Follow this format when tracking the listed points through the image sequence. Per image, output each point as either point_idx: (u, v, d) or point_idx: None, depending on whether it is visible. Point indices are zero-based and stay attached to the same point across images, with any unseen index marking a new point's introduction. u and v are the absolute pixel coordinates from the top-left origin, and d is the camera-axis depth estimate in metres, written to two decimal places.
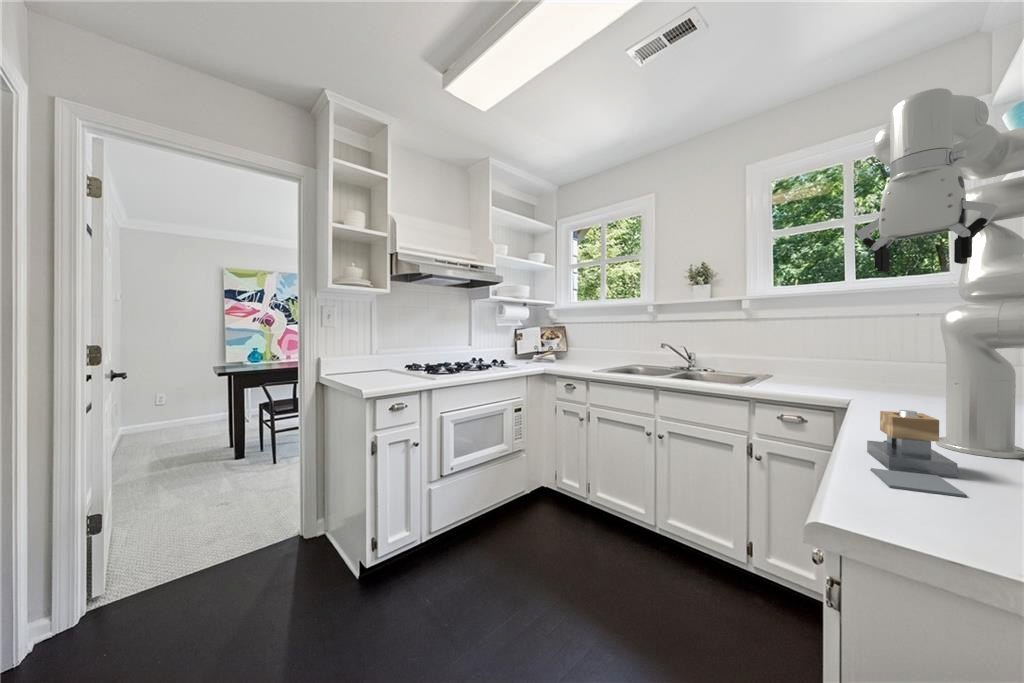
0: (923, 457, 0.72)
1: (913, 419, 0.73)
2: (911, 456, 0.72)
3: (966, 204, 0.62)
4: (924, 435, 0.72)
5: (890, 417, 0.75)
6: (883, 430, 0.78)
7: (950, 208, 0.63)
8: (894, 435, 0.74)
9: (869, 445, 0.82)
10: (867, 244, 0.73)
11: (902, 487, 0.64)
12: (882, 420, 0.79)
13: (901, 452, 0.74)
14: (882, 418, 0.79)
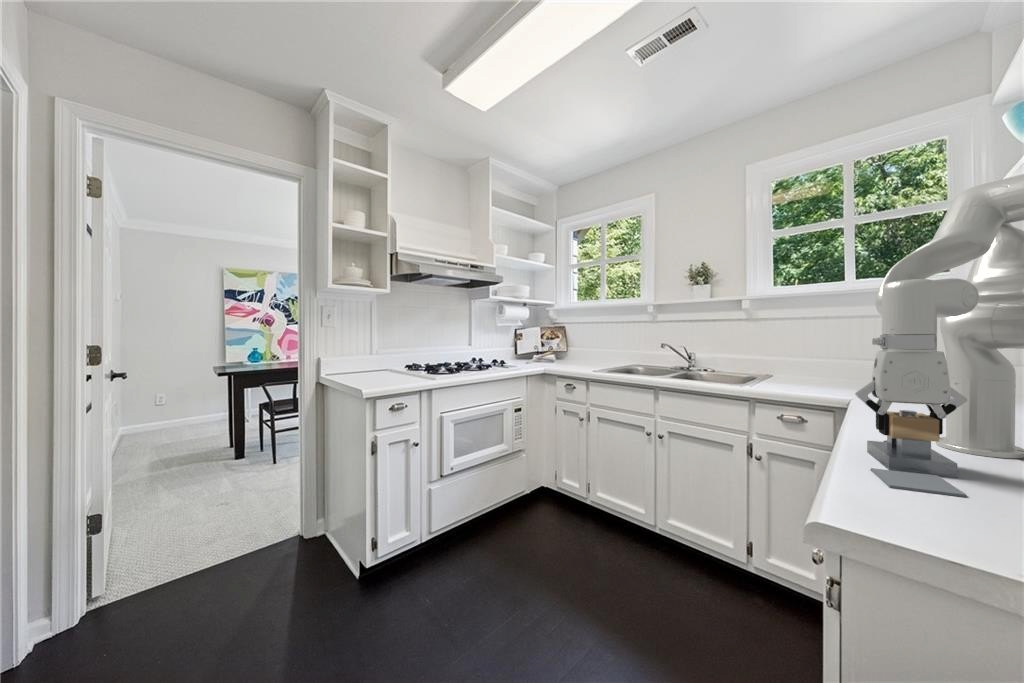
0: (923, 457, 0.72)
1: (913, 419, 0.73)
2: (911, 456, 0.72)
3: None
4: (924, 435, 0.72)
5: (890, 417, 0.75)
6: None
7: None
8: (894, 435, 0.74)
9: (869, 445, 0.82)
10: None
11: (902, 487, 0.64)
12: None
13: (901, 452, 0.74)
14: None
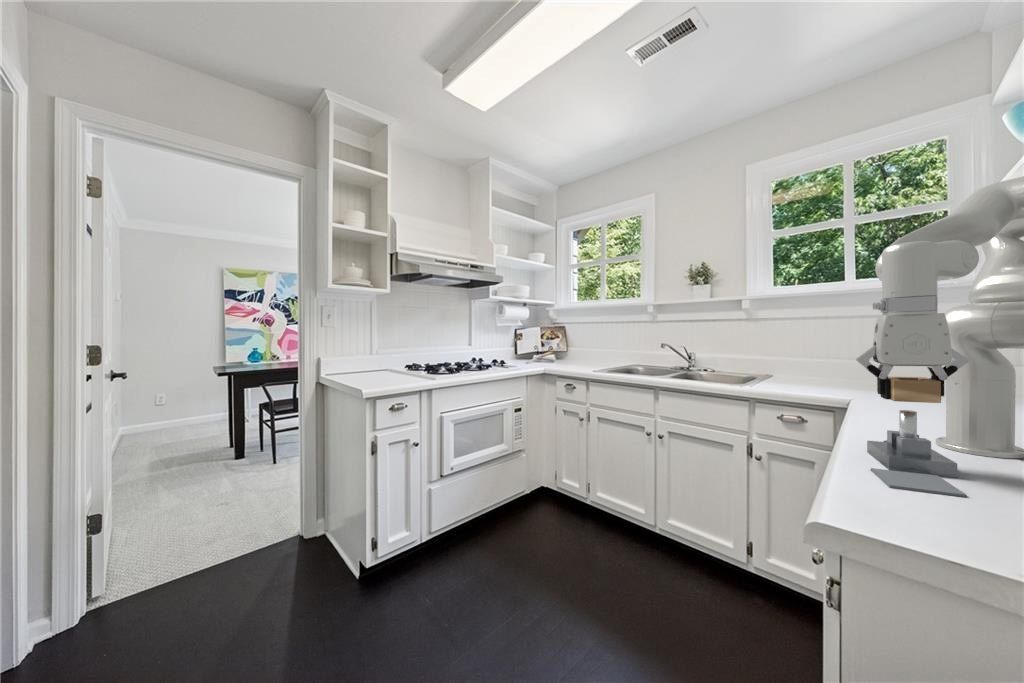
0: (923, 457, 0.72)
1: (914, 381, 0.73)
2: (911, 456, 0.72)
3: None
4: (926, 397, 0.72)
5: (891, 381, 0.75)
6: None
7: None
8: (896, 398, 0.74)
9: (869, 445, 0.82)
10: None
11: (902, 487, 0.64)
12: None
13: (901, 452, 0.74)
14: None
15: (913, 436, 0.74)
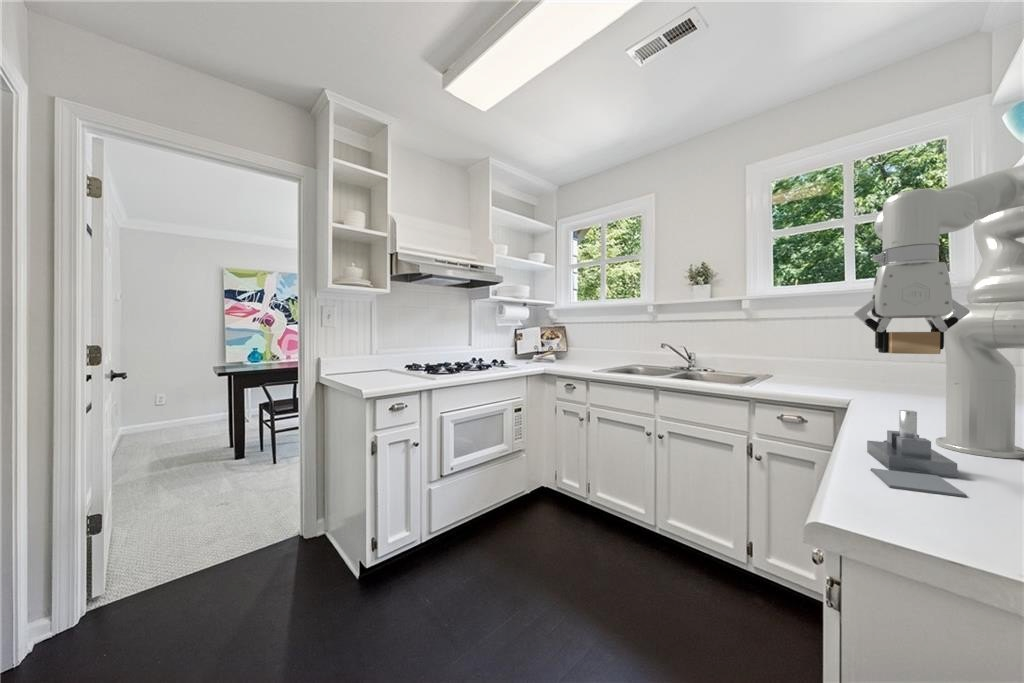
0: (923, 457, 0.72)
1: (913, 332, 0.71)
2: (911, 456, 0.72)
3: None
4: (924, 348, 0.70)
5: (890, 333, 0.73)
6: None
7: None
8: (893, 350, 0.72)
9: (869, 445, 0.82)
10: None
11: (902, 487, 0.64)
12: None
13: (901, 452, 0.74)
14: None
15: (913, 436, 0.74)
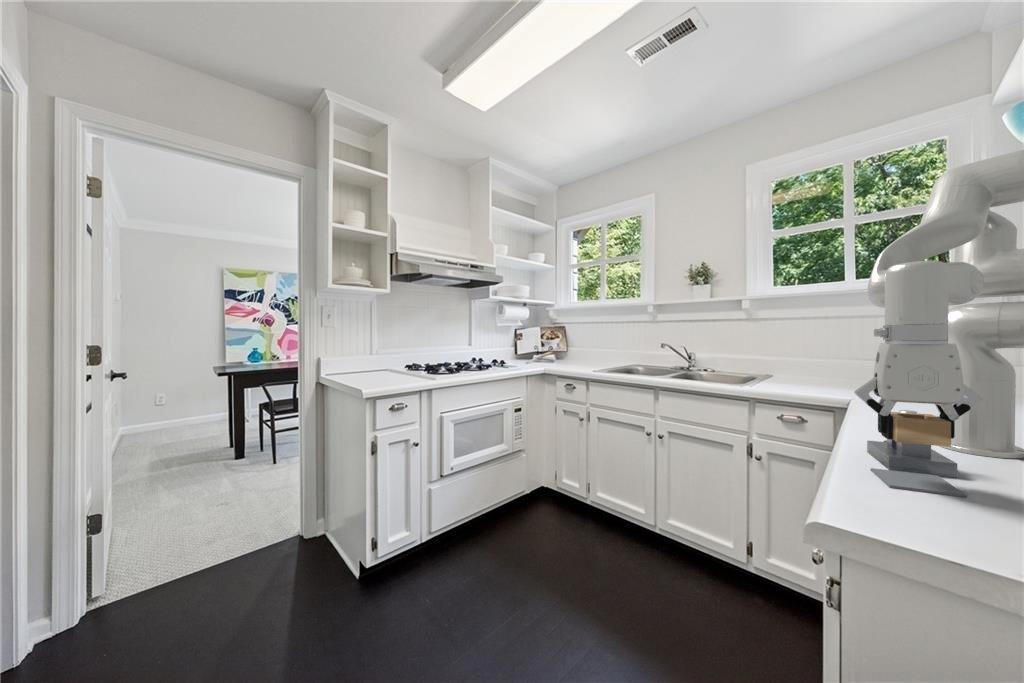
0: (923, 457, 0.72)
1: (921, 421, 0.64)
2: (911, 456, 0.72)
3: None
4: (933, 439, 0.63)
5: (894, 418, 0.66)
6: None
7: None
8: (899, 439, 0.65)
9: (869, 445, 0.82)
10: None
11: (902, 487, 0.64)
12: None
13: (901, 452, 0.74)
14: None
15: None
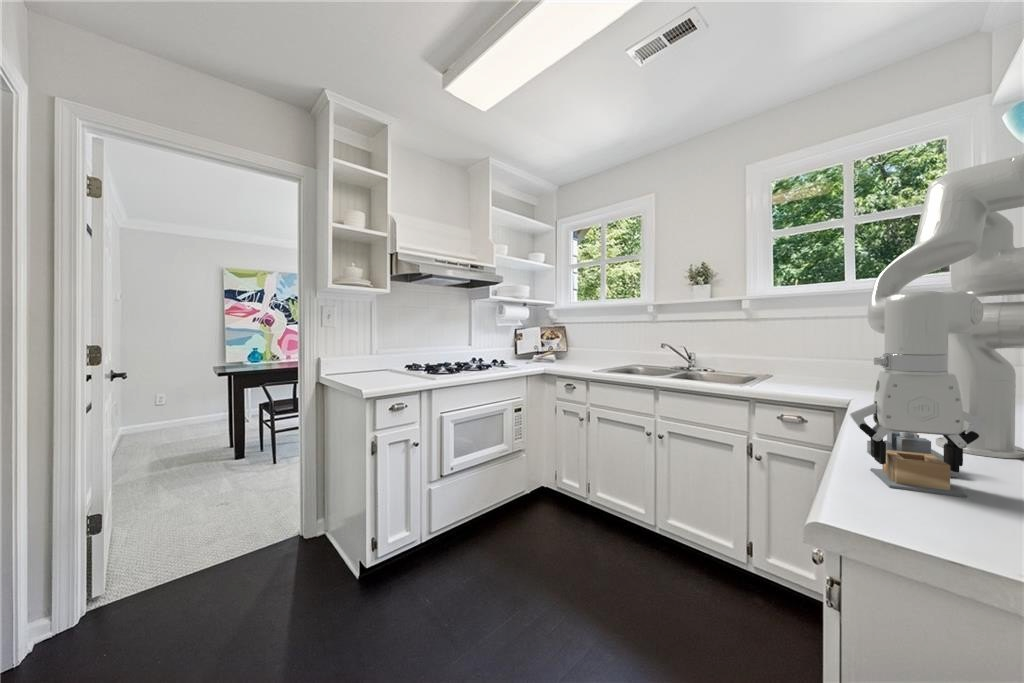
0: None
1: (920, 463, 0.64)
2: None
3: None
4: (933, 482, 0.63)
5: (894, 459, 0.66)
6: (886, 472, 0.69)
7: None
8: (898, 480, 0.65)
9: (869, 445, 0.82)
10: None
11: (902, 487, 0.64)
12: None
13: None
14: None
15: (913, 436, 0.74)
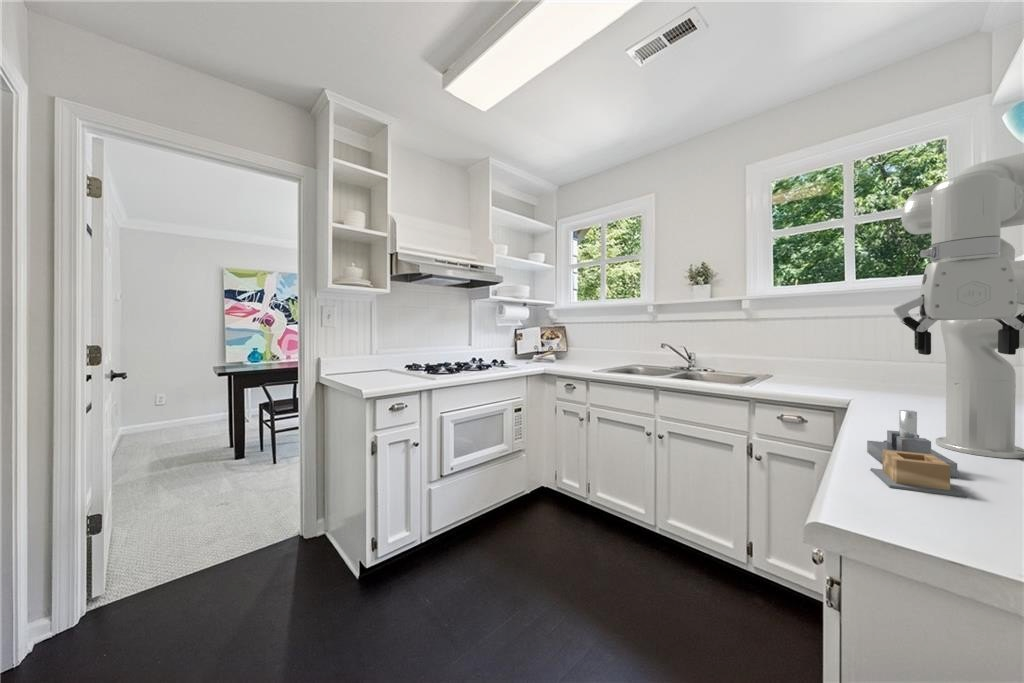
0: None
1: (920, 463, 0.64)
2: None
3: None
4: (933, 482, 0.63)
5: (894, 459, 0.66)
6: (886, 472, 0.69)
7: None
8: (898, 480, 0.65)
9: (869, 445, 0.82)
10: None
11: (902, 487, 0.64)
12: (885, 461, 0.70)
13: None
14: (885, 458, 0.70)
15: (913, 436, 0.74)
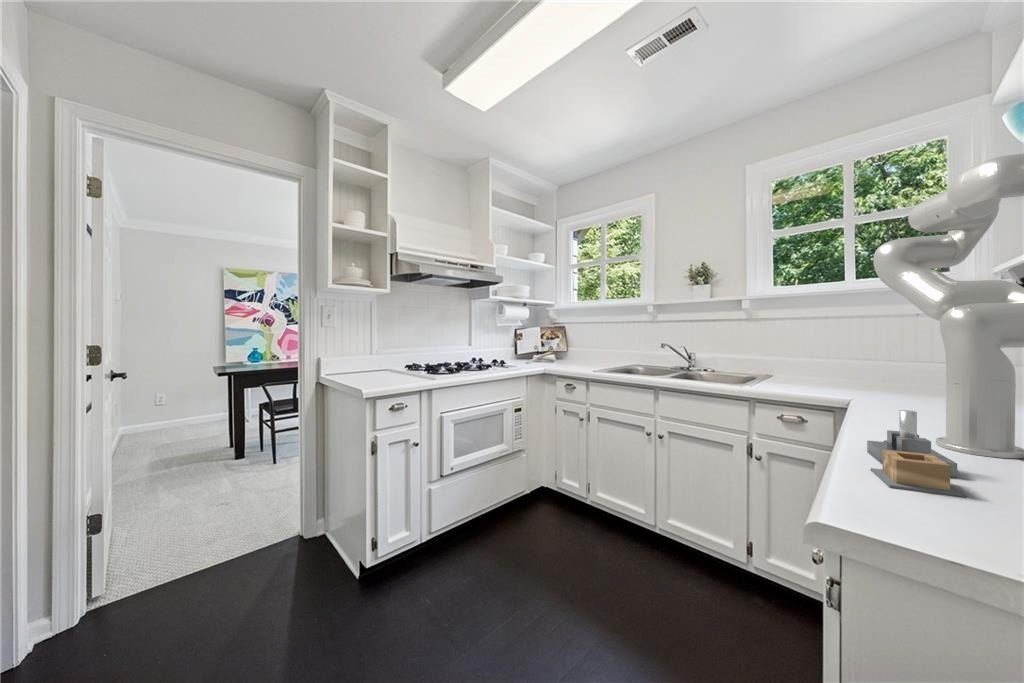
0: None
1: (920, 463, 0.64)
2: None
3: None
4: (933, 482, 0.63)
5: (894, 459, 0.66)
6: (886, 472, 0.69)
7: None
8: (898, 480, 0.65)
9: (869, 445, 0.82)
10: None
11: (902, 487, 0.64)
12: (885, 461, 0.70)
13: None
14: (885, 458, 0.70)
15: (913, 436, 0.74)
